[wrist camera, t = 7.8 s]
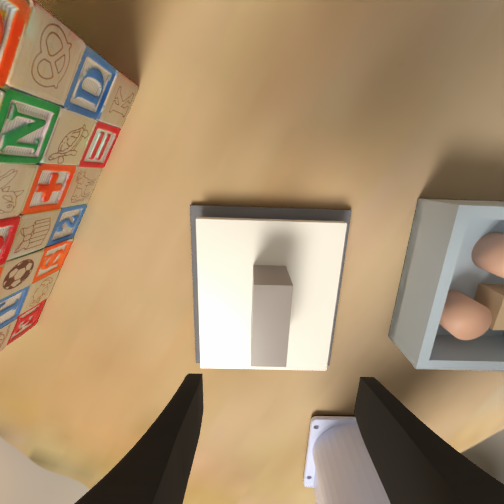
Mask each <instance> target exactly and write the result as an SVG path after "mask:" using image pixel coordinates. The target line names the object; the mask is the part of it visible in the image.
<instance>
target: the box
mask: <svg viewBox="0 0 504 504" xmlns="http://www.w3.org/2000/svg"><path fill="white" fill-rule="evenodd" d="M389 338H390V339H391V340H392V341H393V342H394V344H395V345H396V346H397V347H398V348H399V350H400V351H401V352H402V353H403V354H404V356H405V357H406V358H407V359H408V360H409V361H410V363H411V364H412V365H413V366H414V367H415V369H439V370H488V371H504V201H481V200H449V199H418V201H417V206H416V211H415V215H414V220H413V225H412V229H411V234H410V238H409V243H408V248H407V252H406V257H405V262H404V266H403V271H402V275H401V280H400V285H399V289H398V294H397V299H396V303H395V308H394V312H393V317H392V322H391V326H390V331H389Z"/></svg>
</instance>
